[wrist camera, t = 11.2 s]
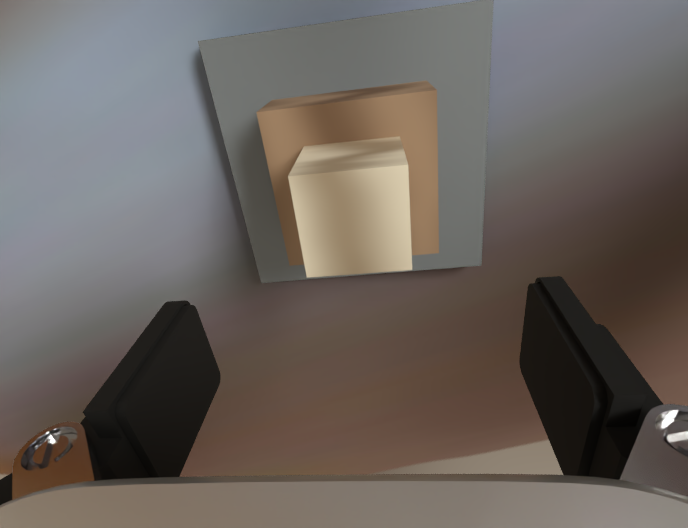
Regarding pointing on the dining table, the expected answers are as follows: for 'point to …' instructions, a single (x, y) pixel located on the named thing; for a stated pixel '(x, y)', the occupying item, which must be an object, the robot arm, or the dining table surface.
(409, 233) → the maple cube
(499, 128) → the dining table surface
